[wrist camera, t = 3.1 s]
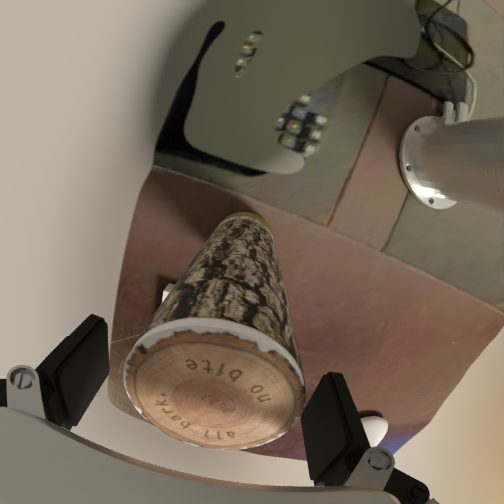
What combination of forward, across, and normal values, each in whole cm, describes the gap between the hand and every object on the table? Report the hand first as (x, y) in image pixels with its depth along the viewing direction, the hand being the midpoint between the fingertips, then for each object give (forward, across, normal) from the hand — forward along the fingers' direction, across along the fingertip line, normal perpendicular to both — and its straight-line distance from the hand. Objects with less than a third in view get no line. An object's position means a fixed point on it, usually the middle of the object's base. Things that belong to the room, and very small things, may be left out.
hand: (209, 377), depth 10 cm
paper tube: (+24, 0, 0) cm, 24 cm away
